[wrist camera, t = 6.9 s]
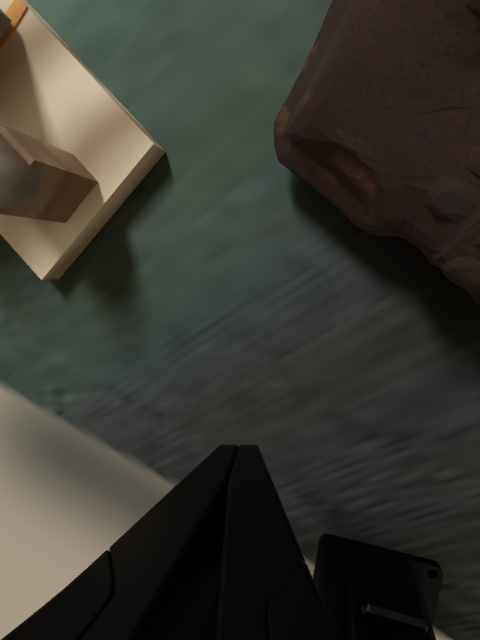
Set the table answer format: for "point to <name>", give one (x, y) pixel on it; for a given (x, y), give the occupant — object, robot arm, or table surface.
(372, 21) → the brown curved lump
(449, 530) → the table surface
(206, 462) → the robot arm
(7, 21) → the collar
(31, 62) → the pipe rig
